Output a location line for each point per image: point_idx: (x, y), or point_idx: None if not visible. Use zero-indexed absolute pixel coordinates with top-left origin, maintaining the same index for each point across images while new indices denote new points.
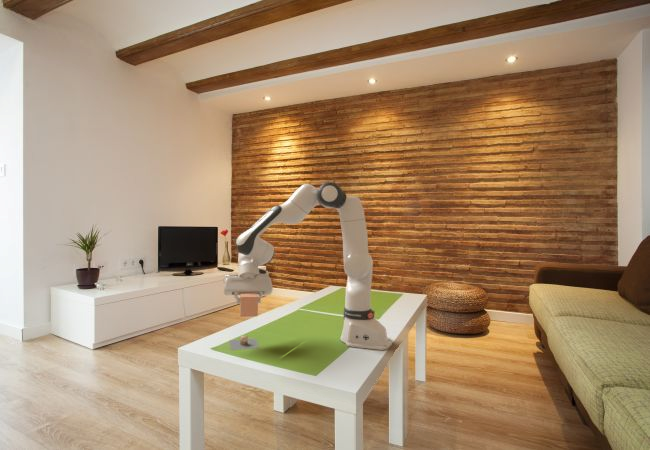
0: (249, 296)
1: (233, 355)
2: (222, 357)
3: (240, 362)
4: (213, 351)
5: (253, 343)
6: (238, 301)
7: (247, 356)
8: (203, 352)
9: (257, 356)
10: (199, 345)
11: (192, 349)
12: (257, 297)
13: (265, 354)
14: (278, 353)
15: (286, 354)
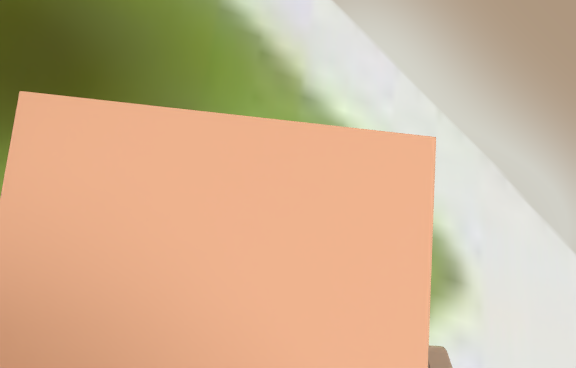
0: (237, 153)
1: (338, 119)
2: (402, 109)
3: (310, 7)
4: (450, 221)
5: None
6: None
7: (258, 78)
8: (506, 222)
9: (199, 58)
10: (535, 356)
11: (571, 292)
12: (48, 102)
13: (143, 73)
14: (54, 62)
15: (7, 29)
